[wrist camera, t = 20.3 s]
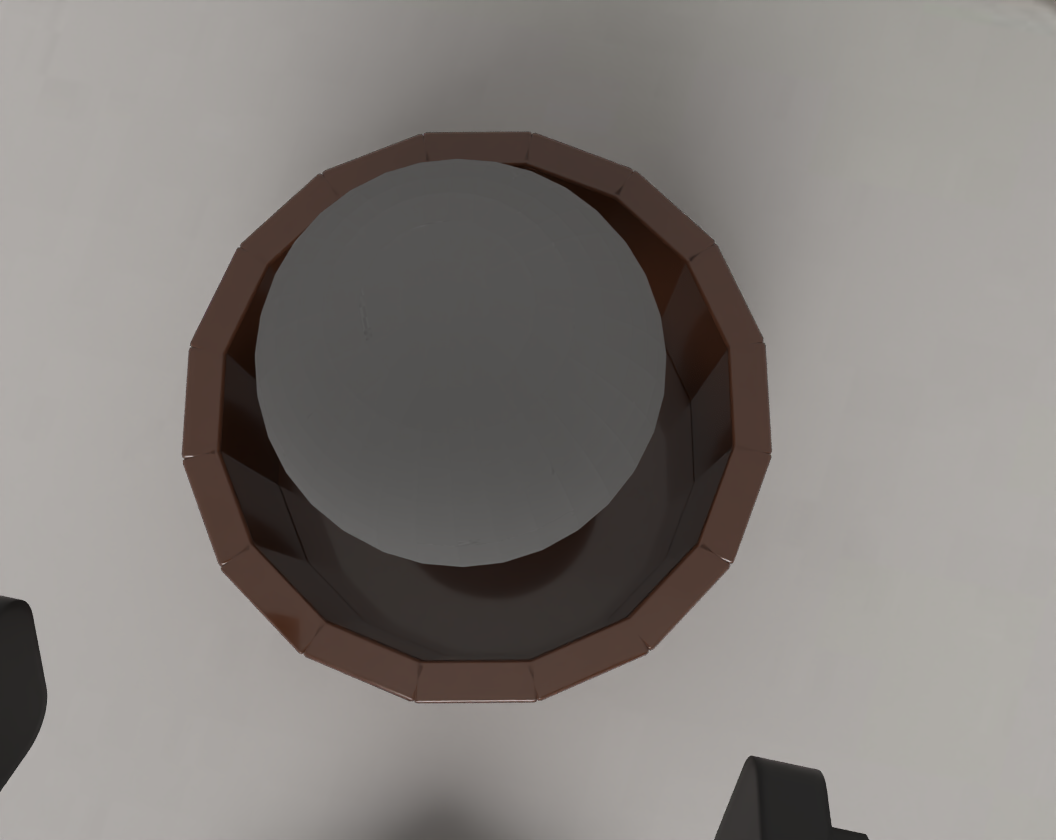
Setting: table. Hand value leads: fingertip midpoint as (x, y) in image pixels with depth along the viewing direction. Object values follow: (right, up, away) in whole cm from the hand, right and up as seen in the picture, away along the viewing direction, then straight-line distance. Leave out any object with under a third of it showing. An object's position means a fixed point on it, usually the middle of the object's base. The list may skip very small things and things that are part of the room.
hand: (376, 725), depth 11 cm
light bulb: (+1, +3, +11) cm, 11 cm away
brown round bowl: (+1, +3, +12) cm, 12 cm away
